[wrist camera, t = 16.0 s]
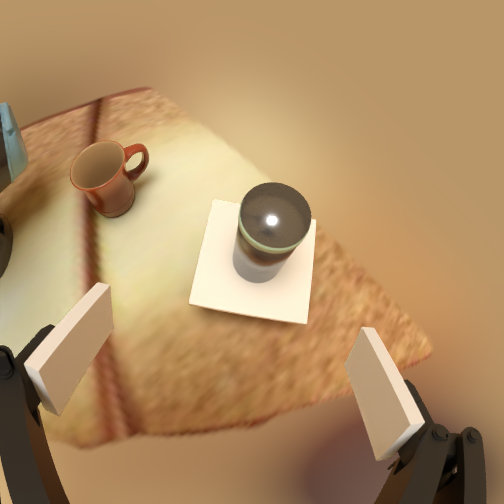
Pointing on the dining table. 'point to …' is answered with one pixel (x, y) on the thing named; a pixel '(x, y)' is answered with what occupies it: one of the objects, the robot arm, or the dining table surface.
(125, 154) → the mug
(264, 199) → the grey can
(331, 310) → the dining table surface
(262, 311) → the pedestal
